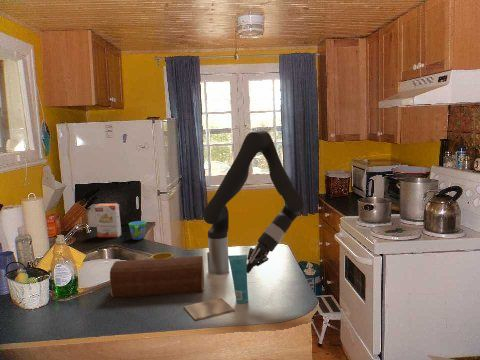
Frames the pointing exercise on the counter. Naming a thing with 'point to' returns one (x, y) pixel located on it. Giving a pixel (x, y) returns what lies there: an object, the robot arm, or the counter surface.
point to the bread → (157, 276)
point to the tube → (239, 277)
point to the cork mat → (208, 308)
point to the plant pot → (162, 256)
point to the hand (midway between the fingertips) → (245, 271)
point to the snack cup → (137, 229)
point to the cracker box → (108, 220)
